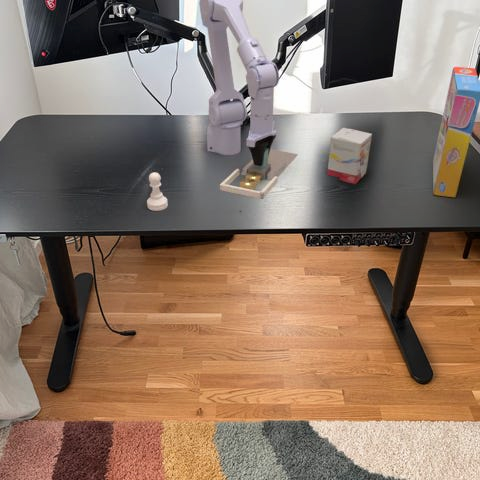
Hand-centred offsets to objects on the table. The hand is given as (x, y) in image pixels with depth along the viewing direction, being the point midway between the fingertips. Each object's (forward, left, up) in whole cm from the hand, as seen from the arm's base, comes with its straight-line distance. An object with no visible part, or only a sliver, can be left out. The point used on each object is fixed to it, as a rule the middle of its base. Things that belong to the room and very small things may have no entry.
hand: (260, 162), depth 138 cm
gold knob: (0, -5, -4) cm, 6 cm away
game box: (+45, +19, -5) cm, 49 cm away
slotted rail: (0, +7, -4) cm, 8 cm away
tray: (0, -8, -4) cm, 9 cm away
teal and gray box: (0, 0, -3) cm, 3 cm away
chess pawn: (-17, -25, -5) cm, 31 cm away
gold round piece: (0, -9, -4) cm, 10 cm away
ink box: (+21, +11, -5) cm, 24 cm away
